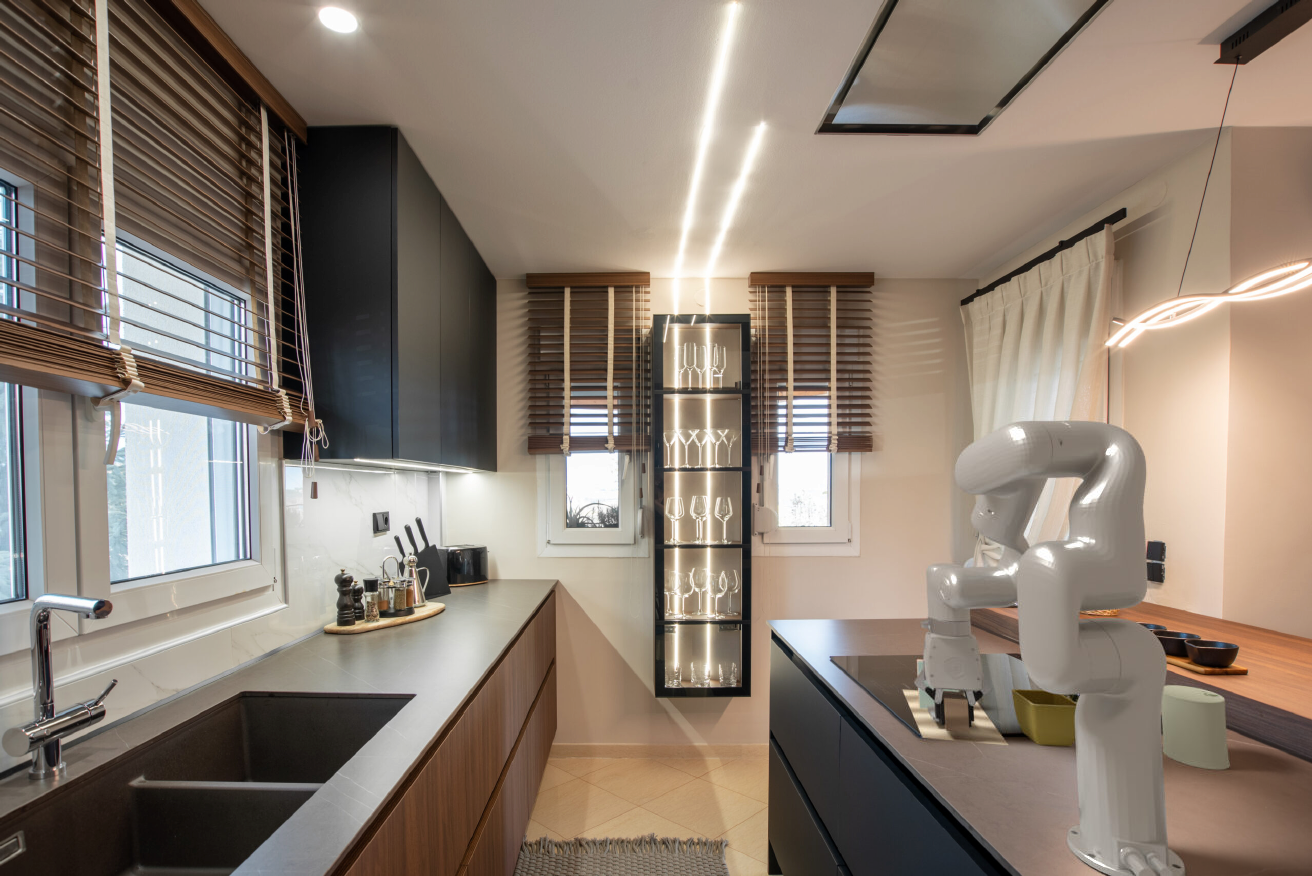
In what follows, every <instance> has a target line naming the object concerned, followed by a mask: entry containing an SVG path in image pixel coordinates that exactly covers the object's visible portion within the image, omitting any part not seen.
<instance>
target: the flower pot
mask: <svg viewBox="0 0 1312 876" xmlns="http://www.w3.org/2000/svg"><path fill="white" fill-rule="evenodd" d="M1011 695H1012V702H1013V707H1014V713H1015V716H1016V717H1015V718H1016V720H1017V722H1018V725H1019V727H1020V730H1021V731H1022V733H1023V734H1024V735H1025V736H1027V737H1028V738H1029V739H1030V740H1031V741H1033V742H1034V743H1035V744H1036V745H1039V746H1061V747H1072V746H1073V744H1074V743H1075V710H1076V705H1077V702H1075V701H1074V700H1072V699H1071V698H1069V697H1067V696H1066V695H1065V694H1054V693H1050V692H1047V691H1045V690H1043V689H1025V688H1023V689H1019V688H1018V689H1017V688H1015V689H1013V688H1012V689H1011Z"/></svg>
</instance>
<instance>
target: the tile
mask: <svg viewBox="0 0 1312 876" xmlns="http://www.w3.org/2000/svg"><path fill="white" fill-rule="evenodd" d="M916 669H917V670H916V671H917V673H916V674H917V677H918V675H919V674H920V672H921V671H922V669H923V659H920V658H919V659H916ZM924 683H925V684H926V685H928V684H927V682H926V680H925V682H924ZM928 686H929V685H928ZM929 687H930V688H932V689H933V687H931V686H929ZM917 690H918V704H919V708H926V709H927V705H930V706H935V702H934V700H933V699H932V698H931V697H930V696H929V695H928V694H927V693H926V692H924V691H923V690H921V689H920V688H918V687H917ZM943 691H955V692H960V690H948V689H943Z"/></svg>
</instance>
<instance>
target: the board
mask: <svg viewBox="0 0 1312 876" xmlns="http://www.w3.org/2000/svg"><path fill="white" fill-rule="evenodd" d="M901 690H902V692H903V694H904V697H905V700H906V701H907V702H906V703H908V706H909V709H910V711H911V713H912V716H913V719H914V720H915V722H916V725H917V728H918V730H919V732H920V735H921V737H922V738H924V739H931V740H932V739H933V740H942V741H943V740H944V741H953V742H955V741H956V742H966V743H977V744H987V745H988V744H990V745H999V746H1009V743H1008V742H1007V741H1006V740H1005V737H1003V736H1002V734H1001V732H1000V731H999V730H998V729H997V727H996V726H995V725H994V723H993V722H992V720H991V719H990V718H989V716H988V715H987V714H986V712H985V710H984V709H983V708H982V706H981V705H980V704H979V703H978V701H977V702H976V704H975V705H974V721H971V724H972V727H969V733H966V732H953V731H946V729H945V727H944V726H943V725H941V723H940V722H939V721H933V720H932V718H931V716H930V714H929V712H928V710H927V709H926V708H919V704H918V689H916V690H915V689H903V688H902V689H901ZM963 695H964V696H965V694H964V693H963Z"/></svg>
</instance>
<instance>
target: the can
mask: <svg viewBox="0 0 1312 876" xmlns="http://www.w3.org/2000/svg"><path fill="white" fill-rule="evenodd" d="M1161 727H1162V740H1163V741H1162V753H1163V754H1164V755H1165V756H1166V757H1168V758H1169V759H1172V760H1173V761H1176V762H1177V763H1181V764H1184V765H1186V766H1190V767H1194V768H1199V769H1205V770H1213V771H1215V770H1217V771H1218V770H1219V771H1220V770H1222V771H1223V770H1226V769H1227V770H1228V769H1229V768H1230V767H1231V764H1230V763H1231V762H1230V760H1229V759H1230V758H1229V752H1228V751H1229V750H1228V738H1227V736H1228V735H1227V721H1226V698H1224V697H1223V696H1222V694H1221V695H1220V694H1218V693H1216V692H1213V691H1211V690H1210V691H1209V690H1207V689H1203V688H1198V687H1193V686H1186V685H1174V684H1172V685H1171V684H1167V685H1166V684H1165V685H1164V690H1163V696H1162V704H1161Z"/></svg>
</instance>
